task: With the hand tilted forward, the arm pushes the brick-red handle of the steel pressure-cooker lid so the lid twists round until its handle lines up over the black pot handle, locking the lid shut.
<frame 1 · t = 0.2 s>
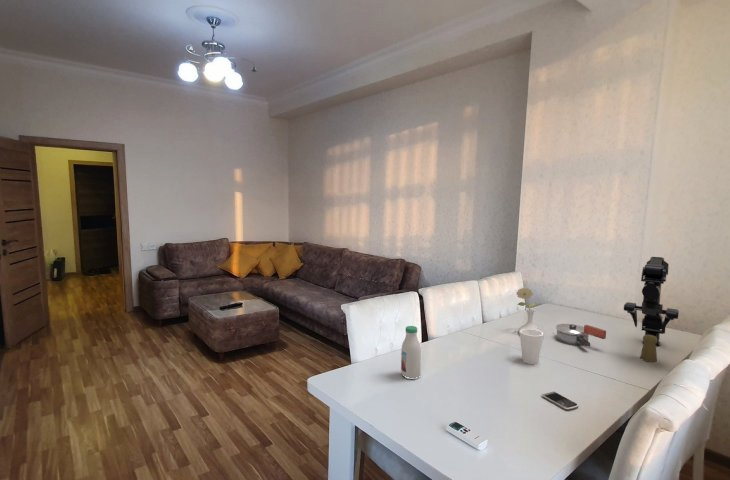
hand: (649, 329, 166), 14 cm above the table, tool pointing down, fingers open, 9 cm apart
foam cup: (530, 361, 167), on the table
cell phone: (559, 403, 133), on the table
flower in vase: (527, 335, 200), on the table
cork: (648, 360, 169), on the table
lid: (581, 328, 187), point 8 cm above the table, hinge at 30.0°
pot: (571, 340, 192), on the table
milk bottle: (410, 376, 153), on the table
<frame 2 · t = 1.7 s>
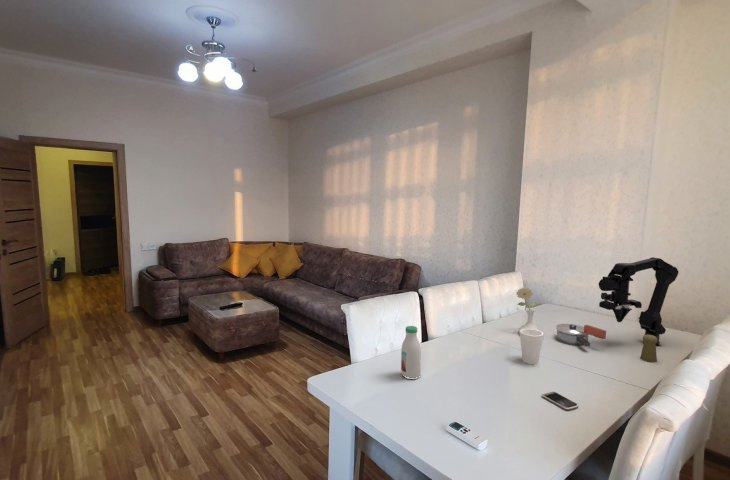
hand: (619, 321, 183), 12 cm above the table, tool pointing down, fingers closed
nothing on the table moved.
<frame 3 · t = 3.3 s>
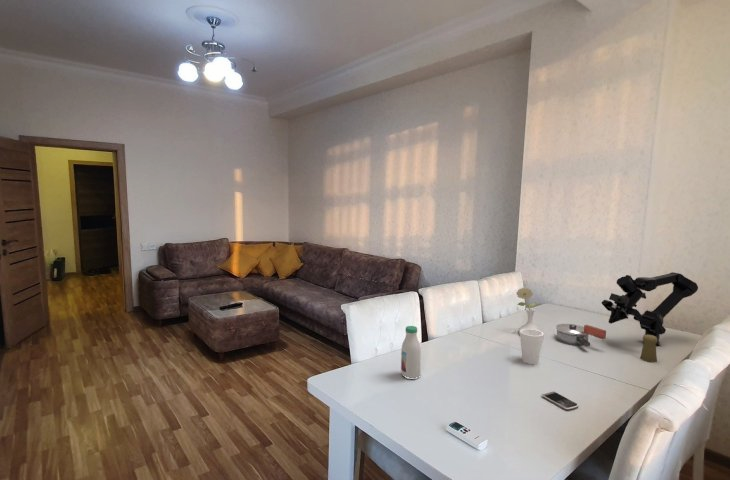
hand: (609, 322, 182), 12 cm above the table, tool tilted 45°, fingers closed
nothing on the table moved.
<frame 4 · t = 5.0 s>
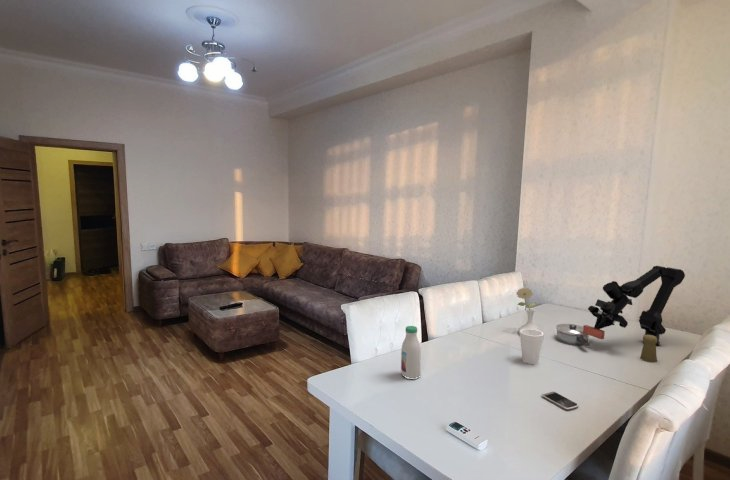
hand: (595, 329, 181), 9 cm above the table, tool tilted 45°, fingers closed
lid: (580, 328, 187), point 8 cm above the table, hinge at 25.8°, touching gripper
everything else where it was.
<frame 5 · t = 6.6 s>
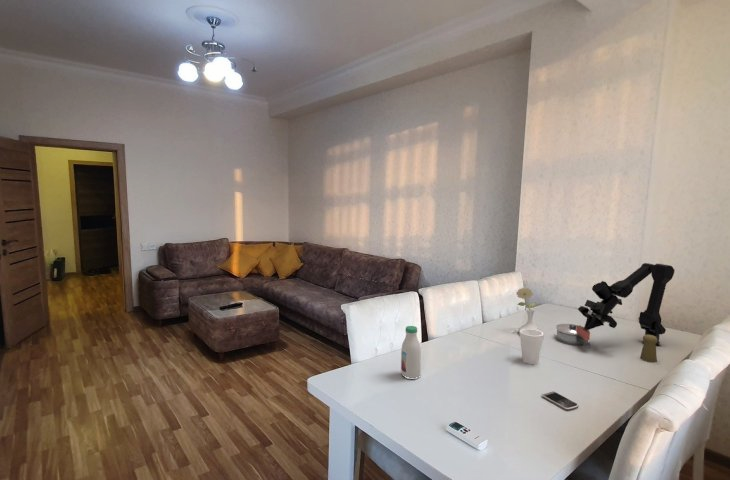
hand: (585, 329, 180), 9 cm above the table, tool tilted 45°, fingers closed
lid: (576, 328, 187), point 8 cm above the table, hinge at -2.4°, touching gripper
everything else where it was.
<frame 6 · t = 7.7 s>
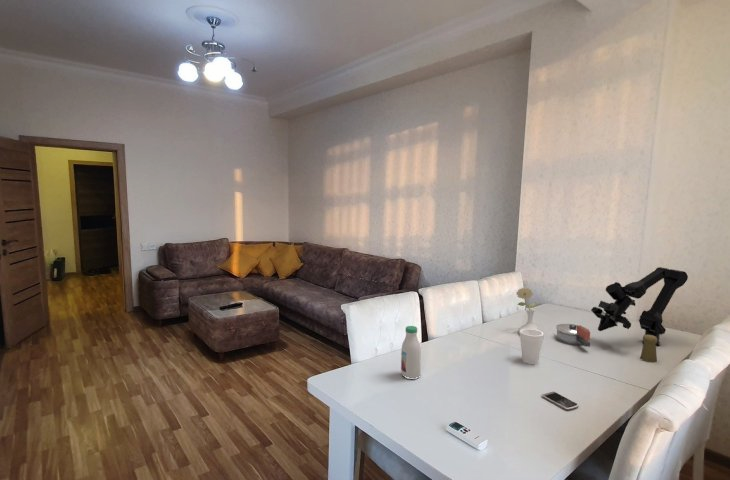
hand: (598, 330, 181), 9 cm above the table, tool tilted 45°, fingers closed
lid: (576, 328, 187), point 8 cm above the table, hinge at -2.0°
everything else where it was.
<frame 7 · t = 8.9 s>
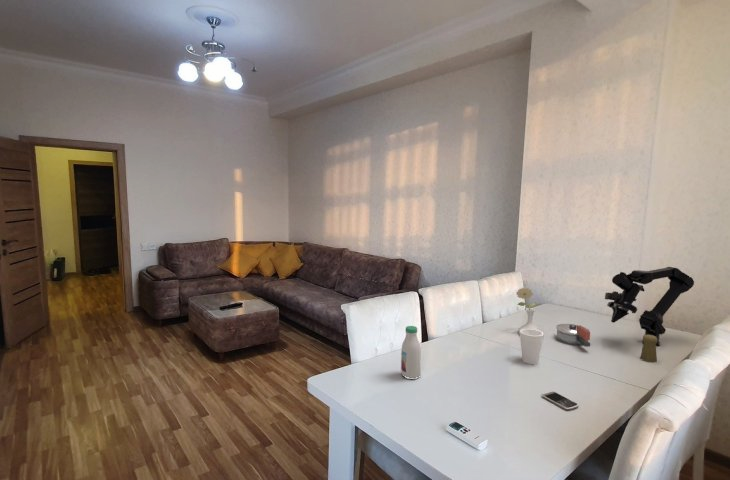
hand: (612, 322, 182), 12 cm above the table, tool tilted 30°, fingers closed
nothing on the table moved.
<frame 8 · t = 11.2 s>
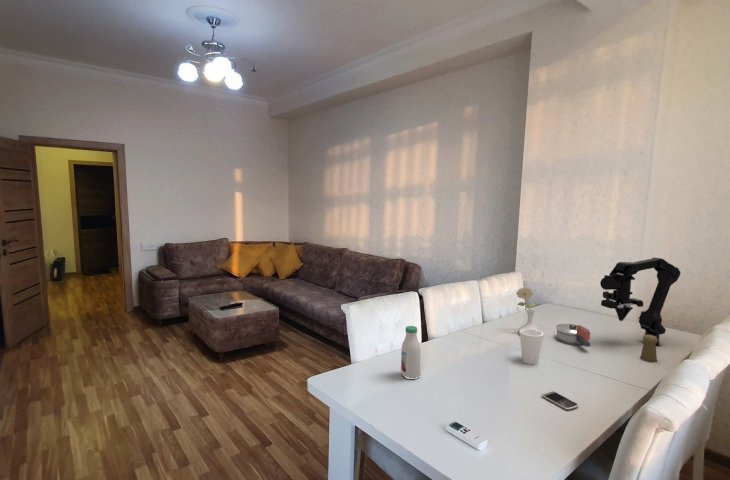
hand: (620, 320, 183), 12 cm above the table, tool pointing down, fingers closed
nothing on the table moved.
at the end: lid at -2° (first picture: +30°) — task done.
